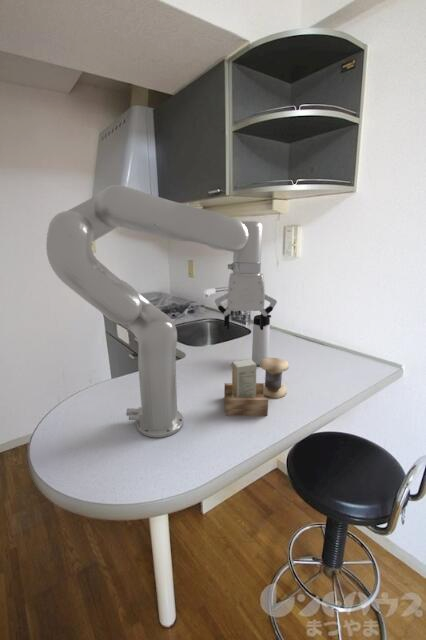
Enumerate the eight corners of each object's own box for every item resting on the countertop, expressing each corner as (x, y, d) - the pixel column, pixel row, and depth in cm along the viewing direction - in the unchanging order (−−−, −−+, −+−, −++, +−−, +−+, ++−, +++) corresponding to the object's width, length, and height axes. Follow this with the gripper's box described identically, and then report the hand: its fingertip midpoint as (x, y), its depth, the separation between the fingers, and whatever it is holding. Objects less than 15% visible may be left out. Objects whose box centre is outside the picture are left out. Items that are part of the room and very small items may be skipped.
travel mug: (268, 367, 122) (270, 317, 116) (251, 366, 123) (252, 316, 117) (268, 361, 127) (271, 313, 122) (252, 359, 129) (254, 312, 123)
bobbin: (260, 398, 100) (262, 369, 97) (257, 384, 108) (258, 357, 105) (289, 398, 100) (291, 369, 97) (283, 384, 108) (285, 357, 105)
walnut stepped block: (225, 415, 91) (225, 400, 89) (224, 397, 100) (224, 383, 99) (267, 415, 91) (268, 400, 89) (262, 397, 100) (262, 383, 99)
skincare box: (250, 394, 98) (251, 358, 94) (256, 402, 94) (257, 364, 90) (230, 398, 96) (231, 360, 93) (235, 405, 92) (236, 366, 89)
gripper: (214, 270, 83) (214, 332, 88) (280, 270, 82) (276, 333, 87) (215, 266, 90) (214, 324, 95) (276, 267, 89) (272, 325, 94)
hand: (244, 328), depth 91 cm, fingers open, 9 cm apart
